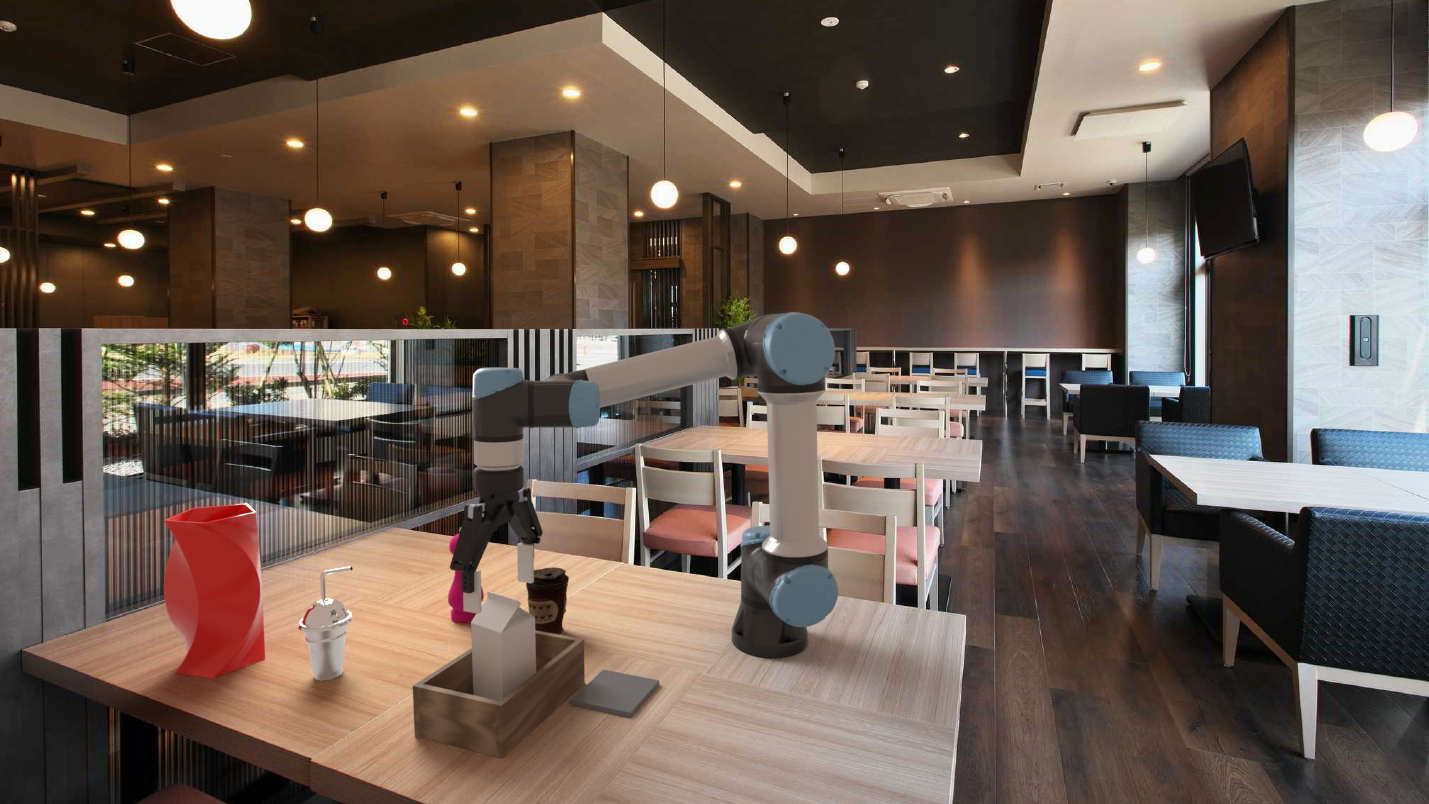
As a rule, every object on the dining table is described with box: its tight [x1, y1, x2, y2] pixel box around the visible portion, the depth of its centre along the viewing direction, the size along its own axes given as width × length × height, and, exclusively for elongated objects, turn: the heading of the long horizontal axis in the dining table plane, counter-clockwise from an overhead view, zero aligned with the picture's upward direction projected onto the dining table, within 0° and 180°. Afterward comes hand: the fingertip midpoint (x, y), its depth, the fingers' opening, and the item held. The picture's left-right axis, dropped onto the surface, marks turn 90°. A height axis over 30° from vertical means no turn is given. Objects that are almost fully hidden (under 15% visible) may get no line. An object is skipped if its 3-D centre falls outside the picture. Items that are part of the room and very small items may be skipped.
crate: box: [412, 630, 586, 759], centre depth 113 cm, size 16×23×8 cm
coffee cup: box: [525, 567, 570, 635], centre depth 141 cm, size 9×8×13 cm
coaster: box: [570, 669, 660, 718], centre depth 118 cm, size 11×11×1 cm
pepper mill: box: [447, 527, 485, 624], centre depth 148 cm, size 7×7×20 cm
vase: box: [163, 503, 266, 680], centre depth 129 cm, size 15×14×28 cm
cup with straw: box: [297, 566, 354, 682], centre depth 123 cm, size 8×9×20 cm
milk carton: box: [470, 590, 536, 701], centre depth 113 cm, size 7×7×19 cm
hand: (500, 595), depth 112 cm, fingers open, 13 cm apart
